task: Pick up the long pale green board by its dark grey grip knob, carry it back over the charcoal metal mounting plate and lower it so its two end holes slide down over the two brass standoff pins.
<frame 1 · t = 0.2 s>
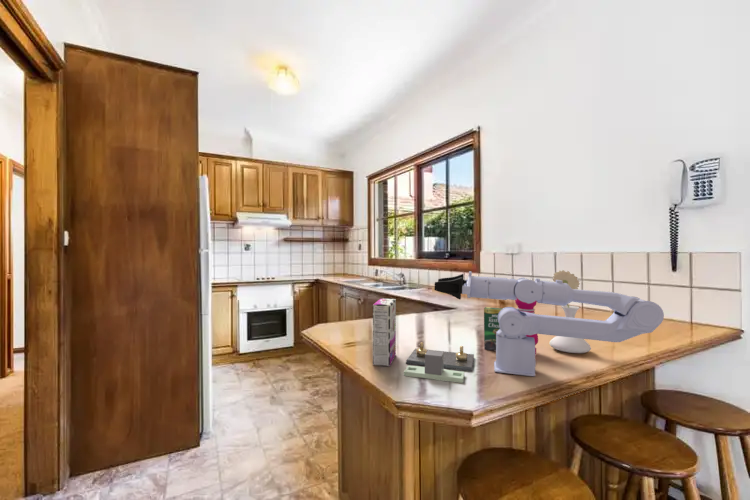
hand: (436, 284, 97), 21 cm above the countertop, tool horizontal, fingers open, 7 cm apart
board: (434, 375, 86), on the countertop
flower in vase: (567, 350, 110), on the countertop
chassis: (441, 360, 98), on the countertop
coffee box: (497, 350, 109), on the countertop
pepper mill: (525, 353, 107), on the countertop
candy bar box: (384, 360, 98), on the countertop
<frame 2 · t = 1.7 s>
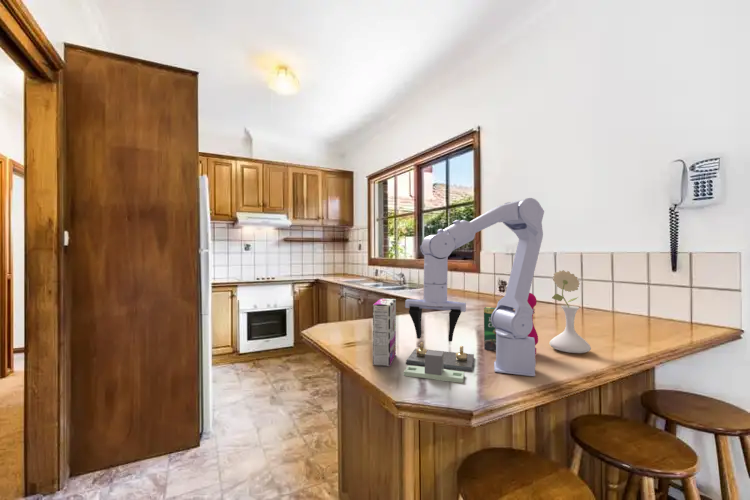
hand: (434, 339, 86), 9 cm above the countertop, tool pointing down, fingers open, 7 cm apart
nothing on the countertop moved.
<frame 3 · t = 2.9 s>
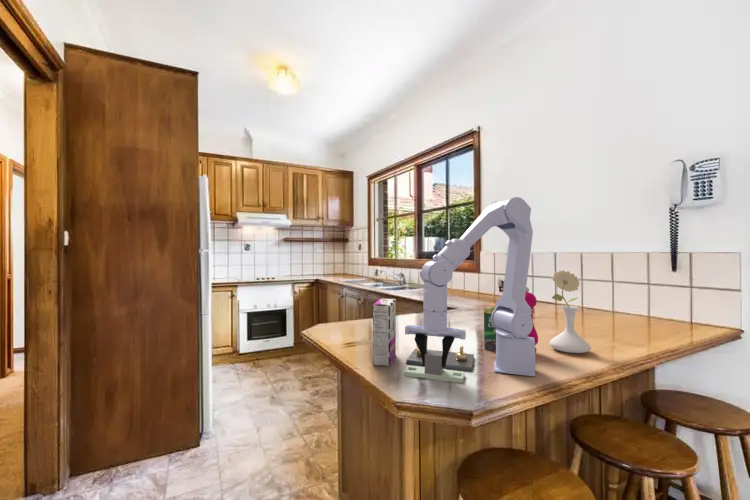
hand: (434, 365, 86), 2 cm above the countertop, tool pointing down, fingers closed on board, 4 cm apart
board: (434, 375, 86), on the countertop, touching gripper
everything else where it was.
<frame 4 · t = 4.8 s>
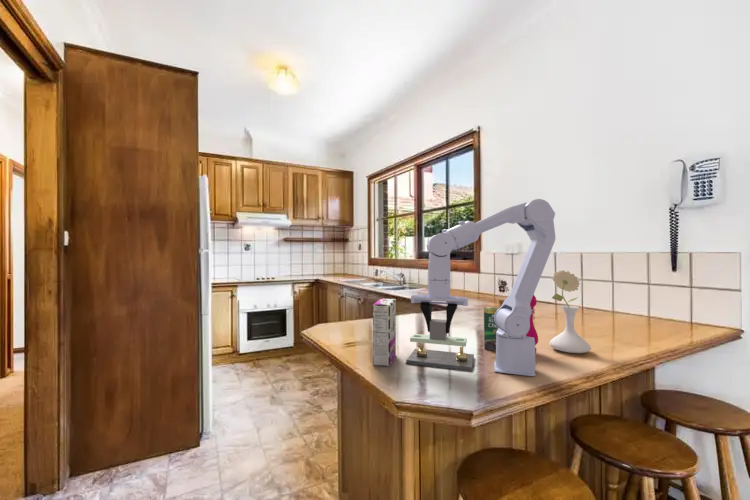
hand: (438, 331, 92), 9 cm above the countertop, tool pointing down, fingers closed on board, 4 cm apart
board: (438, 341, 92), point 7 cm above the countertop, touching gripper
everything else where it was.
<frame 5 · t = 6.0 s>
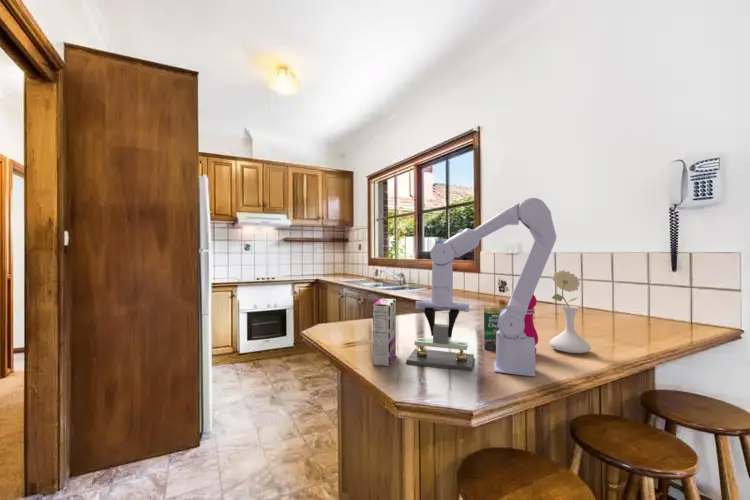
hand: (441, 335, 98), 7 cm above the countertop, tool pointing down, fingers closed on board, 4 cm apart
board: (441, 345, 98), point 4 cm above the countertop, touching gripper
everything else where it was.
when the fingers open (6 cm above the countertop, at t = 6.8 s): board stays where it is, resting on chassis.
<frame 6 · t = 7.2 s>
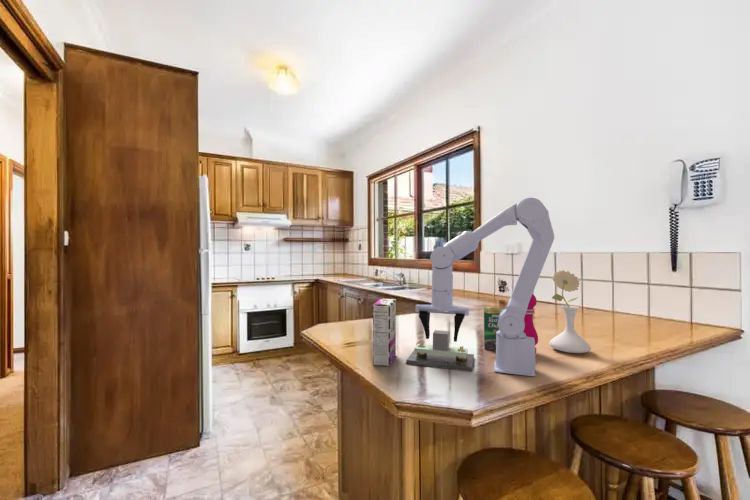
hand: (441, 339, 98), 6 cm above the countertop, tool pointing down, fingers open, 7 cm apart
board: (441, 352, 98), point 2 cm above the countertop, touching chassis
everything else where it was.
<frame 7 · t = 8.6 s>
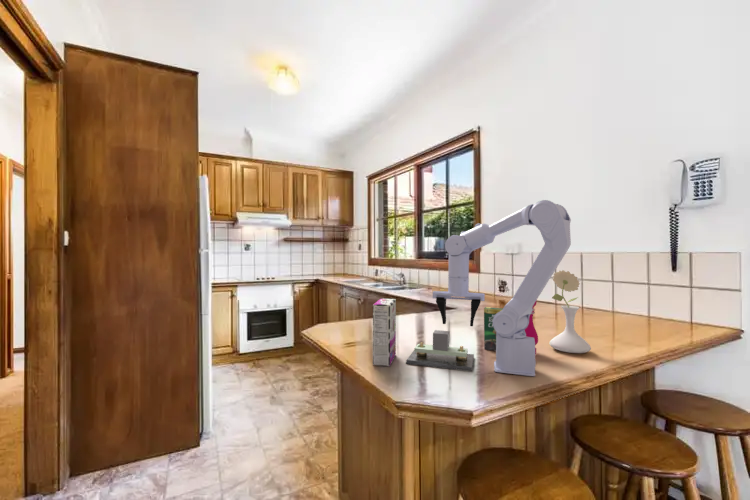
hand: (457, 324, 101), 9 cm above the countertop, tool pointing down, fingers open, 7 cm apart
nothing on the countertop moved.
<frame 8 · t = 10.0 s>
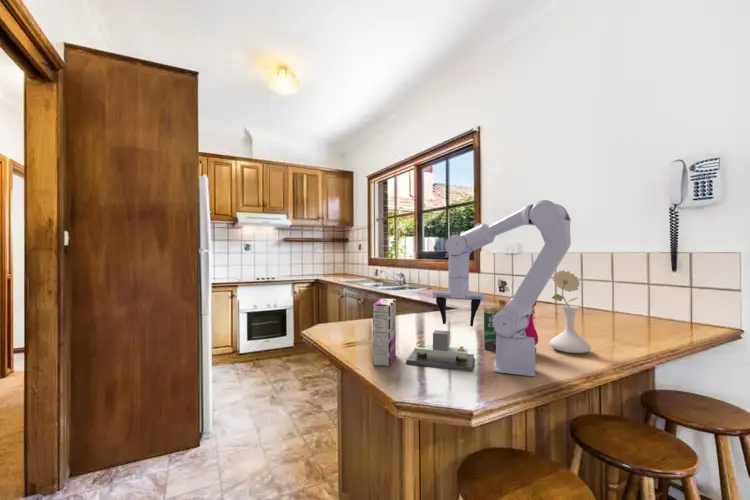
hand: (457, 324, 101), 9 cm above the countertop, tool pointing down, fingers open, 7 cm apart
nothing on the countertop moved.
at the end: board 0.3 cm off-centre on the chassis, point 2.5 cm above the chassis's base; board tilted 0°; the gripper is holding nothing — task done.
